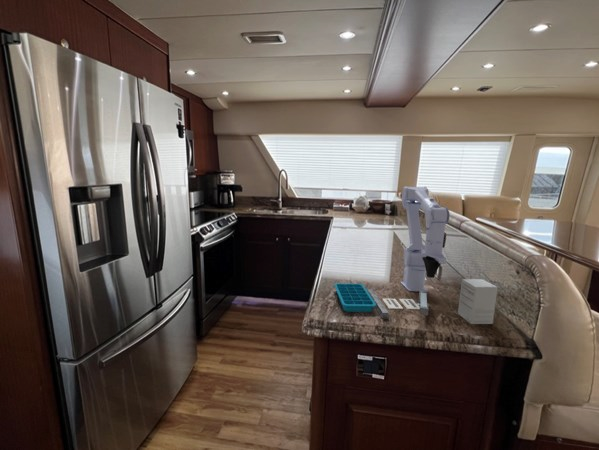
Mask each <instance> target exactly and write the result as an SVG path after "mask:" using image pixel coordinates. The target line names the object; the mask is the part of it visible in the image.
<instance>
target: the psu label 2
mask: <svg viewBox="0 0 599 450" xmlns="http://www.w3.org/2000/svg"><path fill="white" fill-rule="evenodd" d="M398 300H399V301H400V303H401V304H402V305H403V306H404V307H405V308H406V309H407V310H419V311H420V307H419V306H418V305H417V304H416V303H415V302H416V301H415V300H414V299H413V298H398Z"/></svg>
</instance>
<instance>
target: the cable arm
mask: <svg viewBox="0 0 599 450" xmlns="http://www.w3.org/2000/svg"><path fill="white" fill-rule="evenodd" d="M418 292H419V293H418V294H419V295H418V300H417V301H418V303H419V304H420V310H419V312H418V314H419V315H421V316H428V315H429V307H427V303H428V300H427V299H428V291H424V290H420V291H418Z"/></svg>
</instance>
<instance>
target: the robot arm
mask: <svg viewBox="0 0 599 450" xmlns="http://www.w3.org/2000/svg"><path fill="white" fill-rule="evenodd" d="M429 194H430V193H429V188H428V187H426V186H424V187H423V186H422V187H421V186H404V187H403V188H402V190H401V204H402V208H404V209H405V211H406V216H407V218H406V219H407V227H408V236H409V238H408V239H409V245H408V246H406V247H405V248H404V250H403V264H404V266H405V267H404V269H403V278H402V281H400V284H402V286H403V287H404V288H405V289H406V290H407V291H408V292H419V291H420V290H424V291H427V292H429V289H427V288H426V287H425V284H426V283H425V282H426V278H428V279H430V278H431V279H434V278H435V276H436V273H437V272H438V270H439V268H440V266H441V265H442V264H443V265H445V264H446V265H447V258H446V257H445V256H444V254H443V246H444V237H445V229H446V224H448V222H449V221H450V216H451V215H450V214H451V213H450V210H449V209H448V207H445V206H444V207H442V206H441V205H440V204H439V203H438V202H437V201H436V200H435V198H434V197H430V196H429ZM420 209H421V210H422V212H423V214H424V220H425V228H426V233H425V242H424V243H425V244H424V243H423V238H422V228H421V219H420Z"/></svg>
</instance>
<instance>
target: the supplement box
mask: <svg viewBox="0 0 599 450" xmlns="http://www.w3.org/2000/svg"><path fill="white" fill-rule="evenodd" d="M498 289H499V287H498V286H496V285H494V284H492V283H490V282H488V281H487V280H485V279H482V278H479V279H478V278H466V279H465V278H462V279H461V285H460V292H459V293H460V294H459V303H458V310H457V314H458V315H459V316H460V317H461V318H463V319H464V320H465V321H466V322H468V323H469V324H471V325H493V324H494V318H495V317H494V316H495V310H496V302H497V296H498Z"/></svg>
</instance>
